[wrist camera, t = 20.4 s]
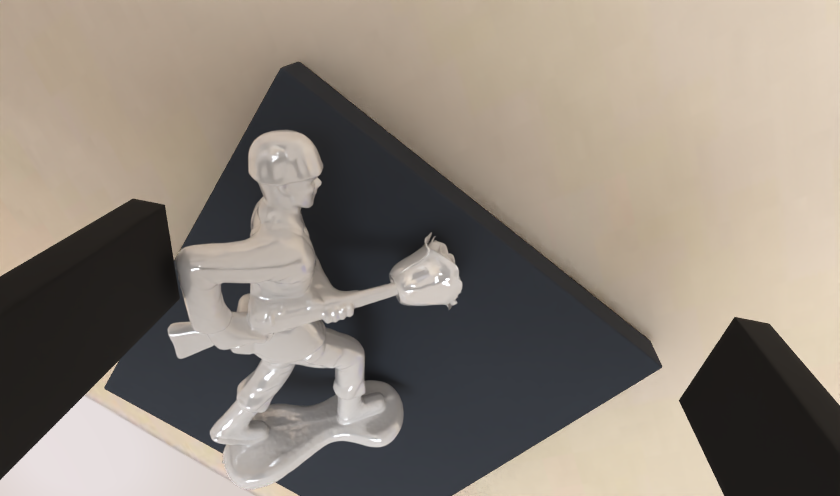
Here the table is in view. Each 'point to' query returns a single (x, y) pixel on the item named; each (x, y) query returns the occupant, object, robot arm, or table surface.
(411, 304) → the figurine
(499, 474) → the table surface
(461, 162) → the table surface
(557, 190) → the table surface
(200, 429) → the display mat
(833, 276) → the table surface
